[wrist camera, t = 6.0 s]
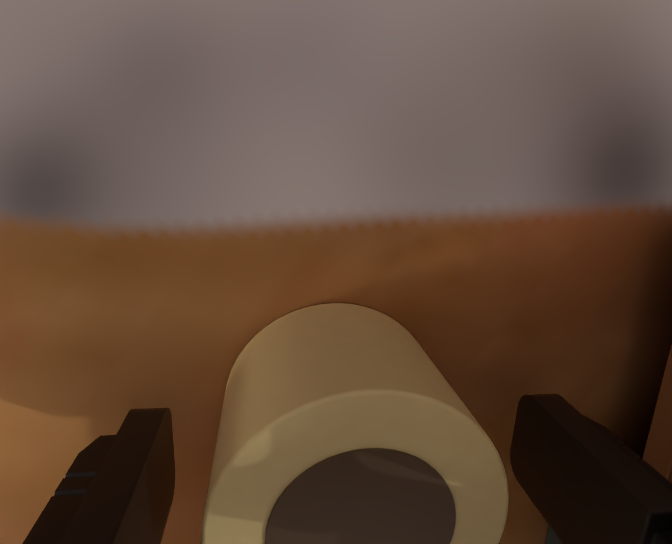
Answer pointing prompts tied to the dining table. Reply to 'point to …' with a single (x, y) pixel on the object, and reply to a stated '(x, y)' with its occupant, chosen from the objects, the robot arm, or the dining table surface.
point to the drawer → (662, 428)
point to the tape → (348, 441)
